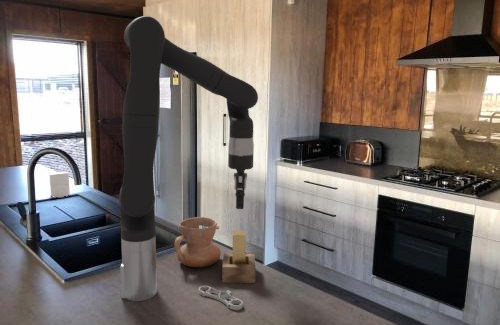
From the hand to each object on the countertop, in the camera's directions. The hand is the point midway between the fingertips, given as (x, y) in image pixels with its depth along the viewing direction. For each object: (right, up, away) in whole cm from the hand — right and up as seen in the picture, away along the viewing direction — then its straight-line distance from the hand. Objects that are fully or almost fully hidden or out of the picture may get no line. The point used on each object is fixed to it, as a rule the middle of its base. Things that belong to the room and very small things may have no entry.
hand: (239, 204), depth 125 cm
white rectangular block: (-98, -5, +92) cm, 134 cm away
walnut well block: (0, -23, +4) cm, 23 cm away
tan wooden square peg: (0, -23, +4) cm, 23 cm away
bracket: (-5, -26, -10) cm, 28 cm away
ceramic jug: (-15, -21, +13) cm, 29 cm away
